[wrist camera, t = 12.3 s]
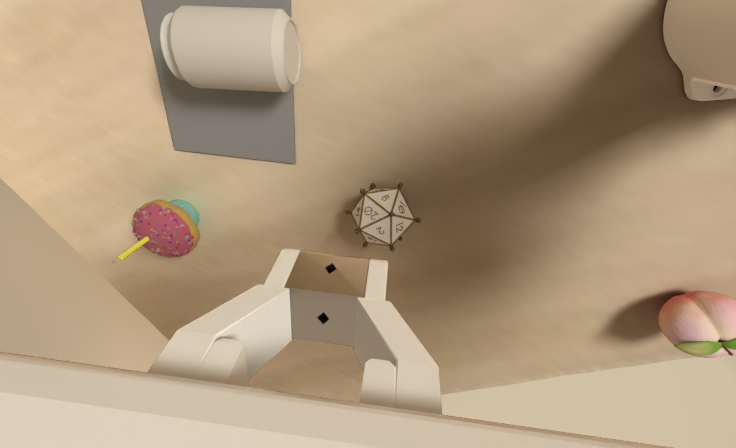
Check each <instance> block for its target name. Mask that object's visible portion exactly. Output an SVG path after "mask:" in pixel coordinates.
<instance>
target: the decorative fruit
mask: <svg viewBox="0 0 736 448" xmlns="http://www.w3.org/2000/svg"><path fill="white" fill-rule="evenodd" d="M658 323H659V326H660V328H661V330H662V332H663V333H664V335H665V336H666V337H667V338H668V340H669V341H670V342H671V343H672V344H673V345H674V346H675V347H677V348H678V349H679V350H681V351H683V352H685V353H687V354H690V355H693V356H698V357H705V358H715V357H722V356H726V355H733V353H734V352H736V300H735V299H733V298H731V297H729V296H726V295H723V294H719V293H713V292H704V291H693V292H687V293H685V294H682V295H679V296H674V297H672V298H671V299H669V300H668V301H667V302H666V303H665V304H664V305H663V307H662V308H661V310H660V312H659V315H658Z"/></svg>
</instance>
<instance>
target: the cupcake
mask: <svg viewBox="0 0 736 448" xmlns="http://www.w3.org/2000/svg"><path fill="white" fill-rule="evenodd" d="M132 222H133V223H132V224H133V225H132V226H133V232H132V233H135V236H136V237H137V239H138V241H139V242H137V243H136V244H134V245H133V246H132V247H130V248H129V249H127V250H126V251H124V252H123V253H122V254H120V255H119V256H117V259H116V260H114V261H113V262H112V263H115V262H116V261H118V260H120V261H121V260H123V259H124V258H126V257H127V256H128V255H130V254H131V253H133V252H134V251H135V250H137V249H138V248H139V247H141V246H144V247H145V248H147V249H148V250H149V251H152V252H153V253H156V254H157V255H161V256H163V257H165V256H166V257H169V258H170V257H179V256H182V255H185V254H187V253H188V252H190V251H191V250H192V249H193V248H194V247H195V246H196V245H197V243H198V241H199V238H200V233H199V230H198V228H197V225H198V222H199V215H198V212H197V211H196V209H195V208H194V207H193V206H192V205H191V204H189V203H188V202H185V201H182V200H173V201H170V202H166V201H163V200H155V201H152V202H149V203H147V204H145V205H143V206H142V207H141V208H139V209H137V211H136V212H135V214H134V215H133V221H132Z"/></svg>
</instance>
